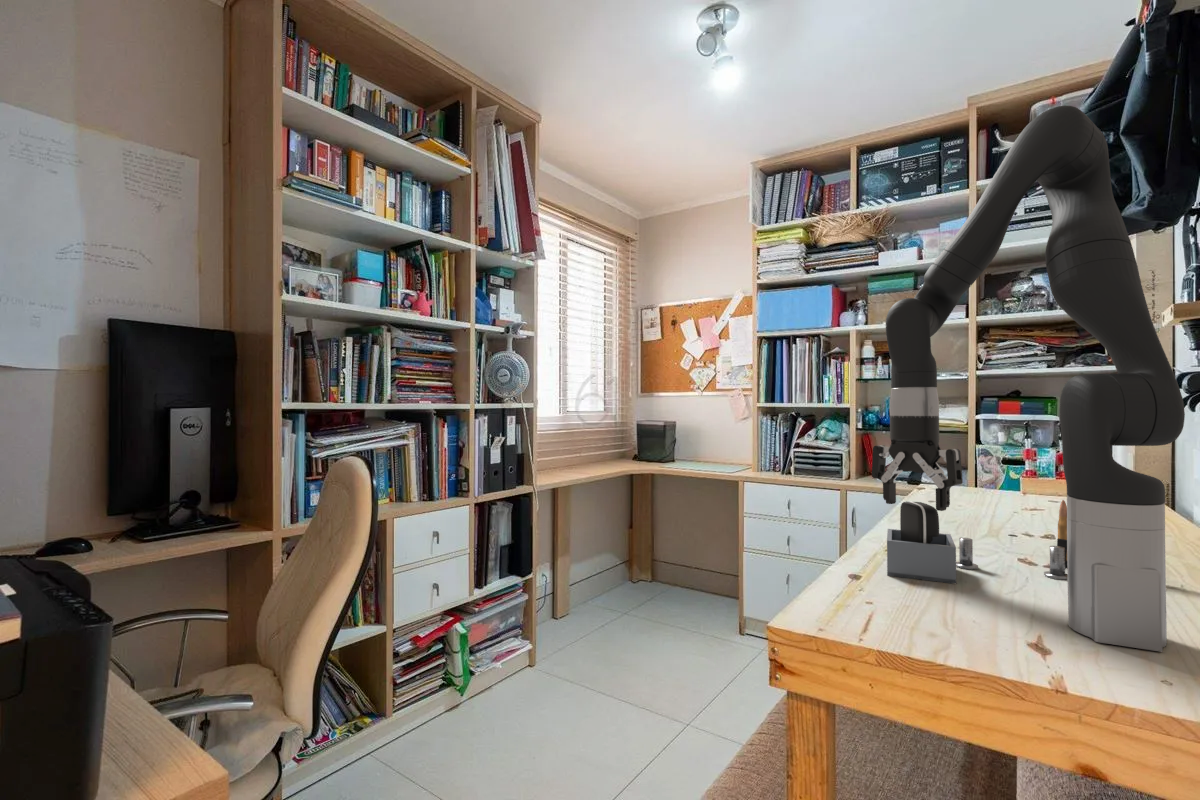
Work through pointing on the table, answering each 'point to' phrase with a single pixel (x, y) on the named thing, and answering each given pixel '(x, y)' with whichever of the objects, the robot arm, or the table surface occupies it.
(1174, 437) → the robot arm
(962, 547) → the metal knobs
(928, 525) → the battery charger
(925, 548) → the bin
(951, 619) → the table surface
